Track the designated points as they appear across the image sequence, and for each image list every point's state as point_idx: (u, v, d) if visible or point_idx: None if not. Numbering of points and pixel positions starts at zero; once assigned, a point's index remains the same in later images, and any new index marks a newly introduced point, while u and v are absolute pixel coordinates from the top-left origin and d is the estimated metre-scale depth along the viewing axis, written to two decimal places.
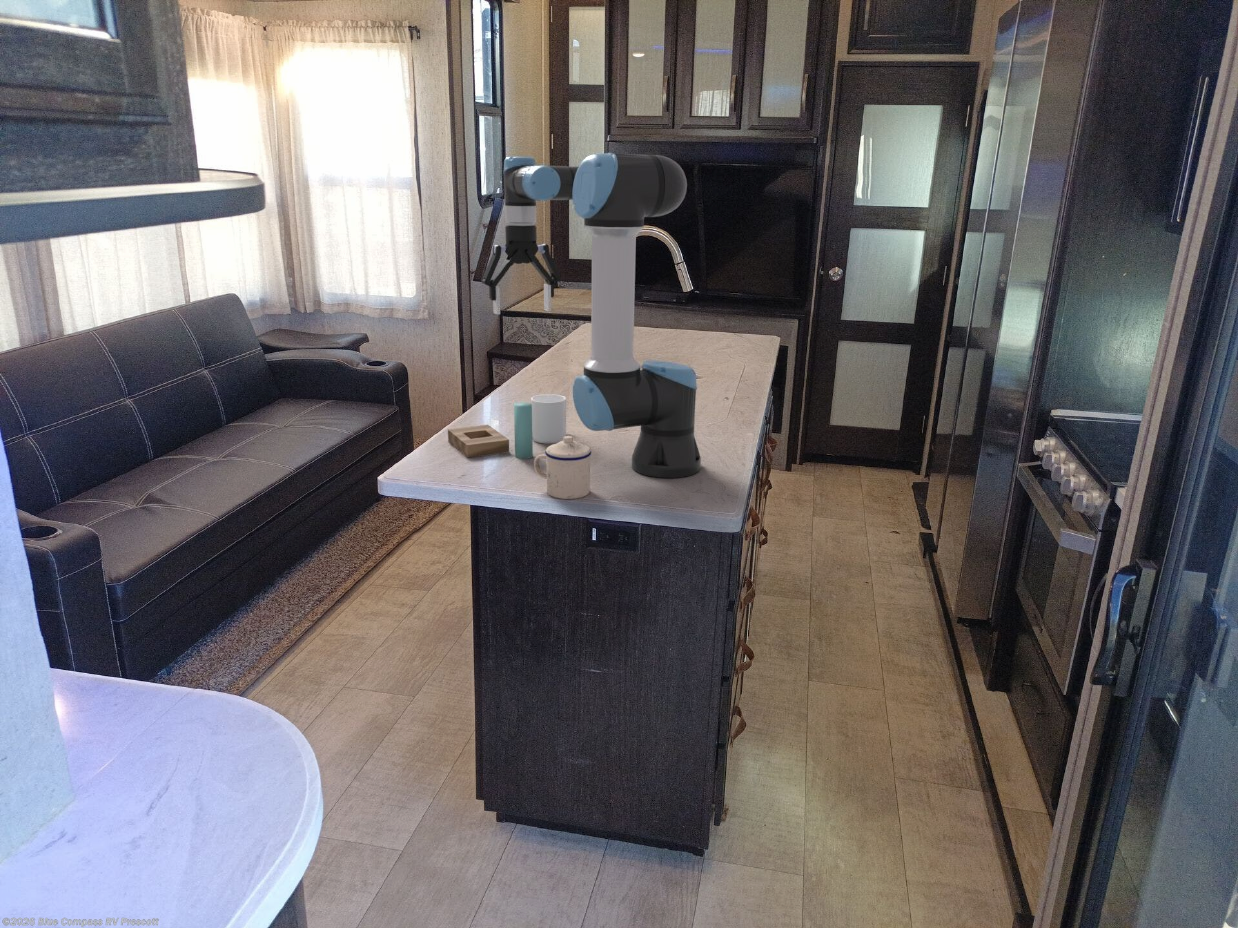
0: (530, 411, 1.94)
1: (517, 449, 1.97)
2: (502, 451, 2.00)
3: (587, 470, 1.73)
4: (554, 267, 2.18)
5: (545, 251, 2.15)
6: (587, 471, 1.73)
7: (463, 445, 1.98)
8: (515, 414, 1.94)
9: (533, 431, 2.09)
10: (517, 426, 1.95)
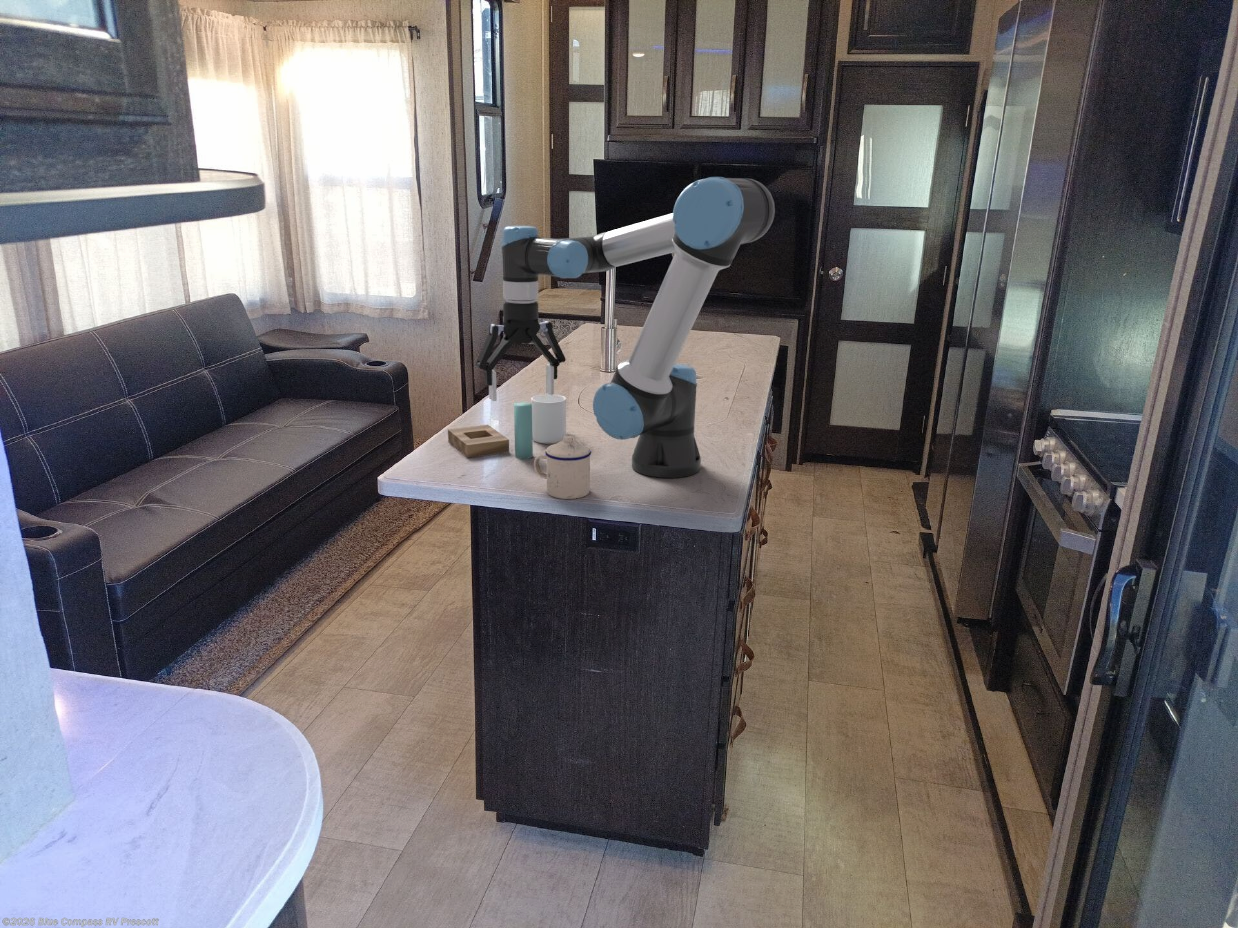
0: (530, 411, 1.94)
1: (517, 449, 1.97)
2: (502, 451, 2.00)
3: (587, 470, 1.73)
4: (558, 346, 1.94)
5: (548, 329, 1.91)
6: (587, 471, 1.73)
7: (463, 445, 1.98)
8: (515, 414, 1.94)
9: (533, 431, 2.09)
10: (517, 426, 1.95)
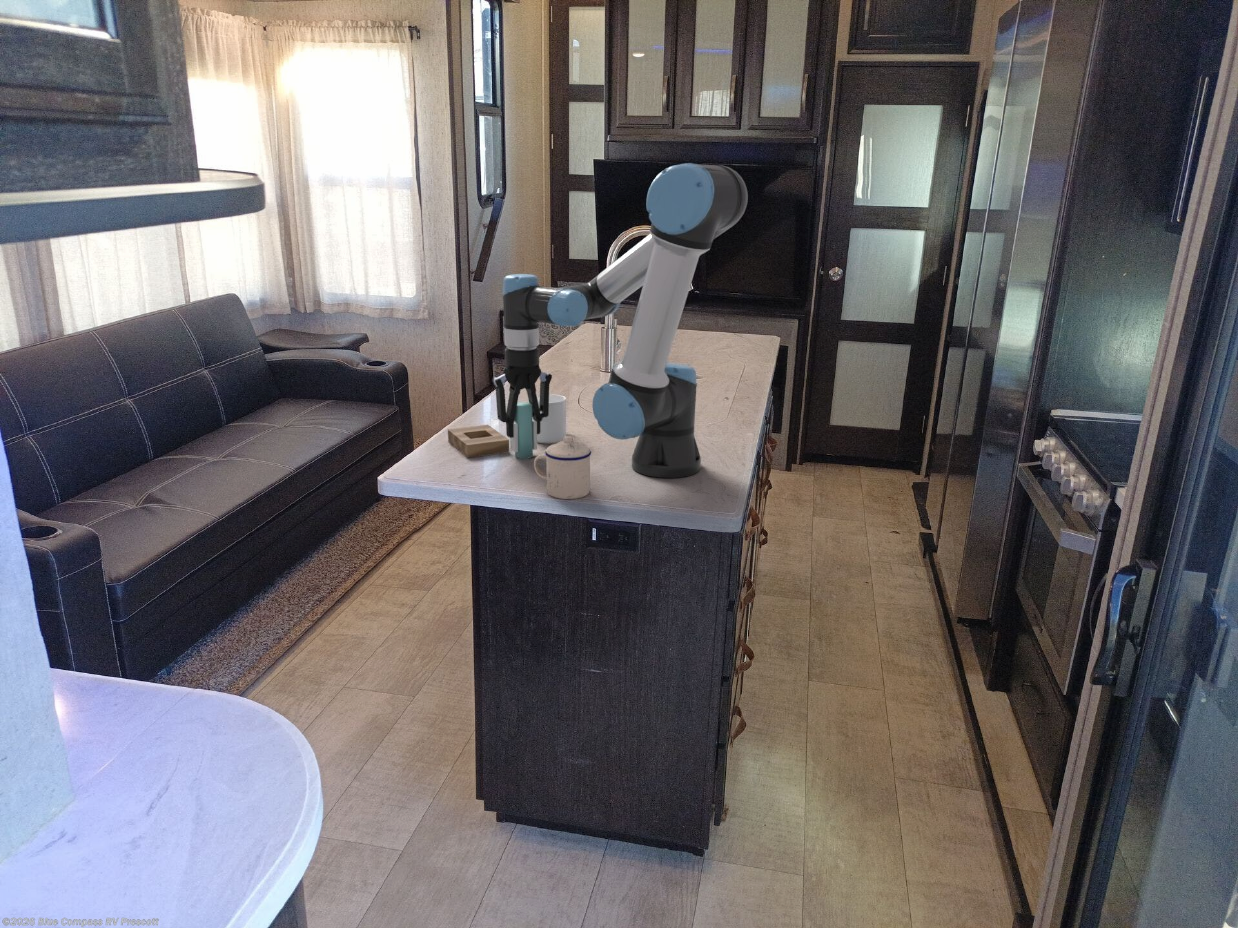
0: (530, 411, 1.94)
1: None
2: (502, 451, 2.00)
3: (587, 470, 1.73)
4: (547, 400, 1.96)
5: (546, 380, 1.94)
6: (587, 471, 1.73)
7: (463, 445, 1.98)
8: (515, 414, 1.94)
9: None
10: None
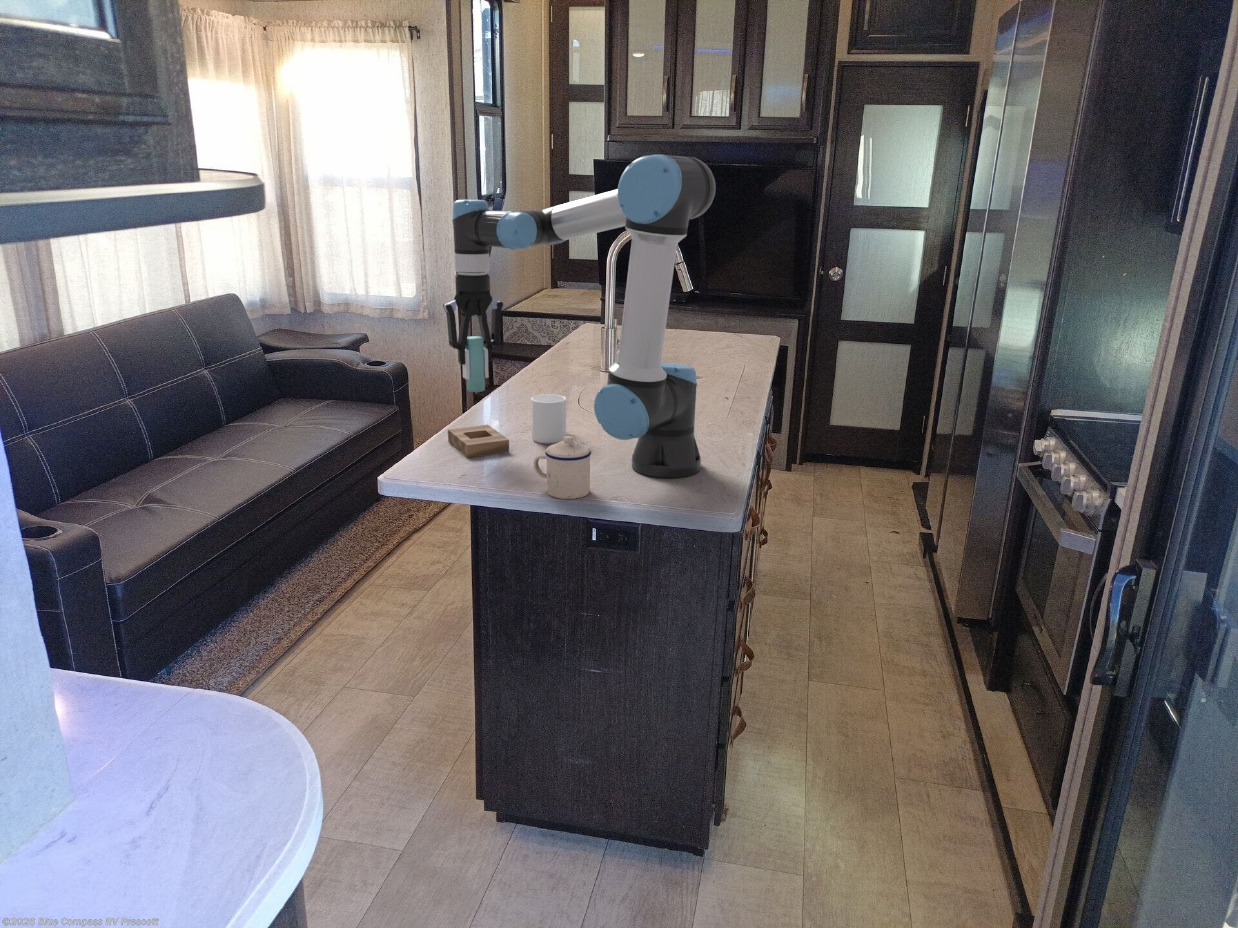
0: (481, 344, 1.96)
1: (468, 383, 1.98)
2: (502, 451, 2.00)
3: (587, 470, 1.73)
4: (498, 328, 1.97)
5: (497, 308, 1.96)
6: (587, 471, 1.73)
7: (463, 445, 1.98)
8: (466, 347, 1.96)
9: (533, 431, 2.09)
10: (469, 359, 1.96)
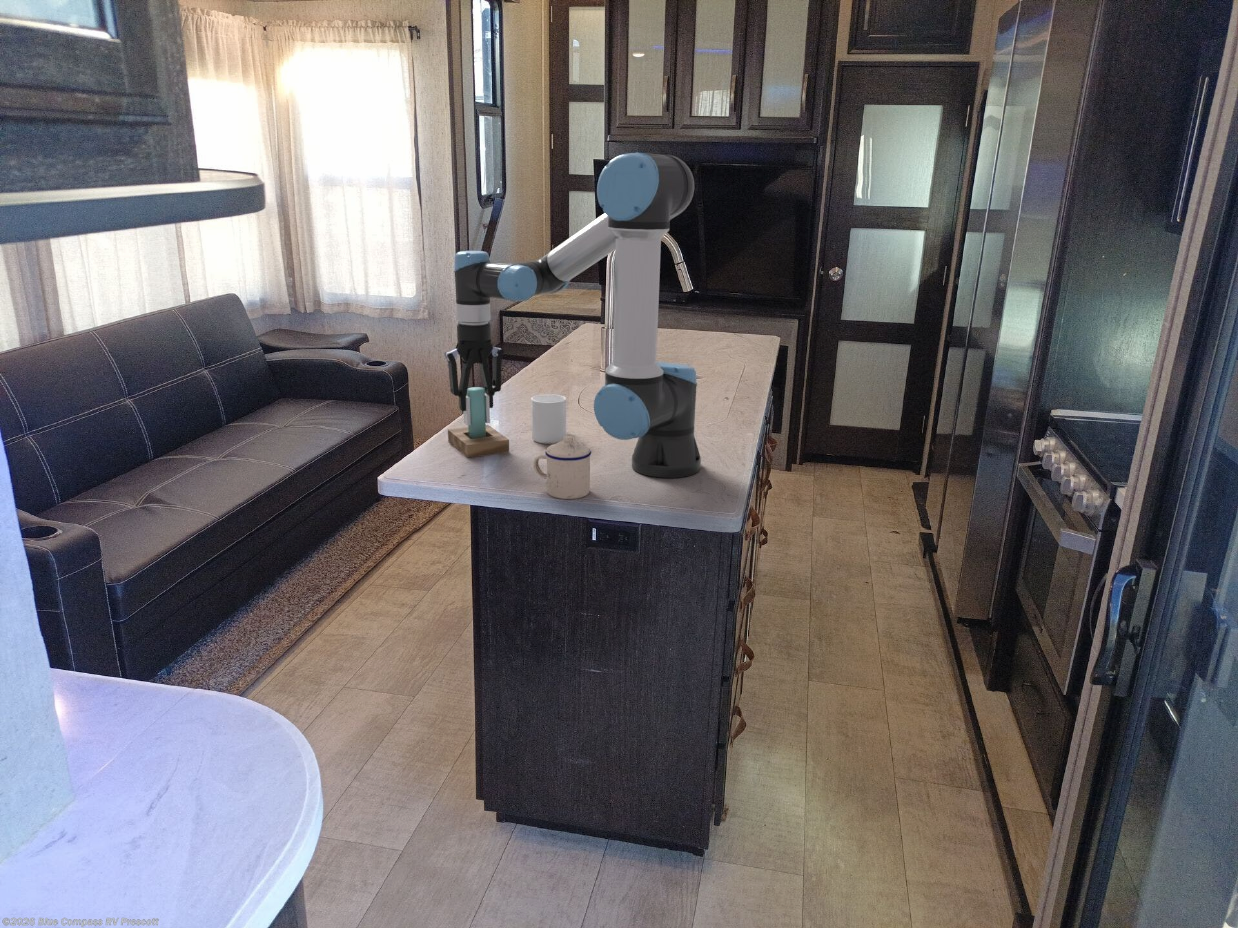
0: (482, 395, 2.00)
1: (470, 433, 2.02)
2: (502, 451, 2.00)
3: (587, 470, 1.73)
4: (499, 375, 2.01)
5: (498, 355, 1.99)
6: (587, 471, 1.73)
7: (463, 445, 1.98)
8: None
9: (533, 431, 2.09)
10: (470, 410, 2.00)
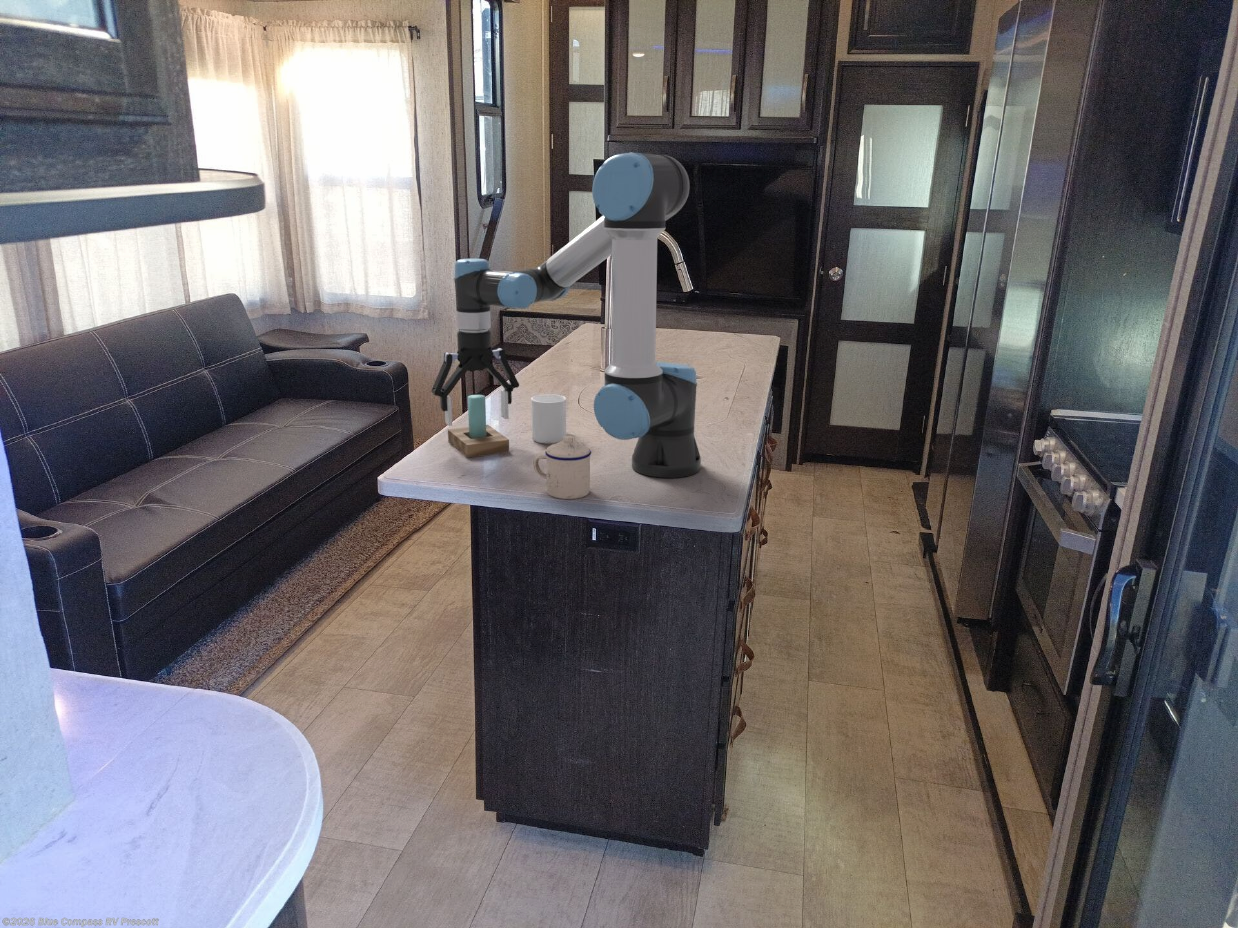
0: (483, 403, 2.00)
1: None
2: (502, 451, 2.00)
3: (587, 470, 1.73)
4: (511, 373, 2.02)
5: (501, 357, 2.00)
6: (587, 471, 1.73)
7: (463, 445, 1.98)
8: (469, 406, 2.00)
9: (533, 431, 2.09)
10: (471, 417, 2.01)
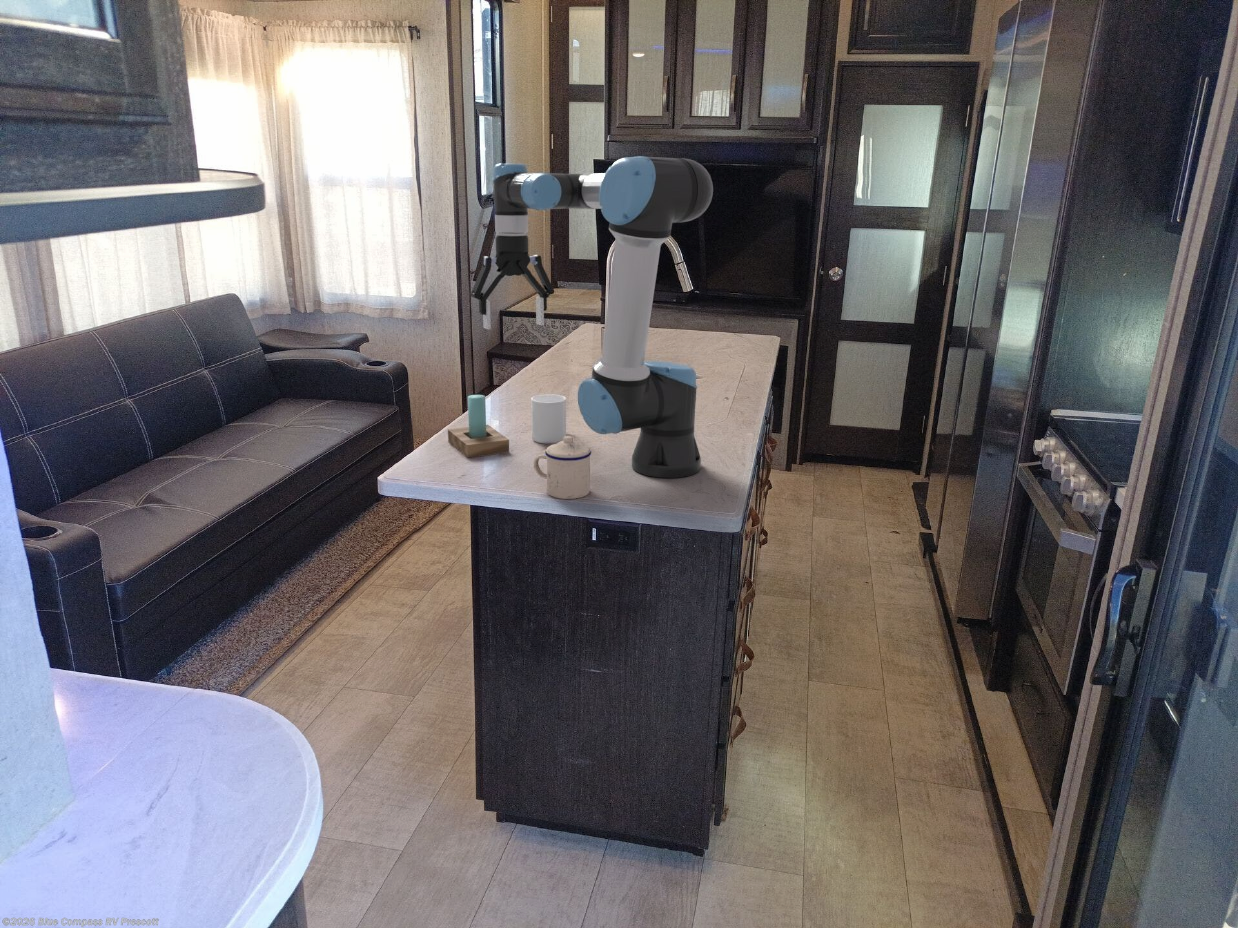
0: (483, 403, 2.00)
1: None
2: (502, 451, 2.00)
3: (587, 470, 1.73)
4: (547, 279, 2.07)
5: (537, 262, 2.05)
6: (587, 471, 1.73)
7: (463, 445, 1.98)
8: (469, 406, 2.00)
9: (533, 431, 2.09)
10: (471, 417, 2.01)
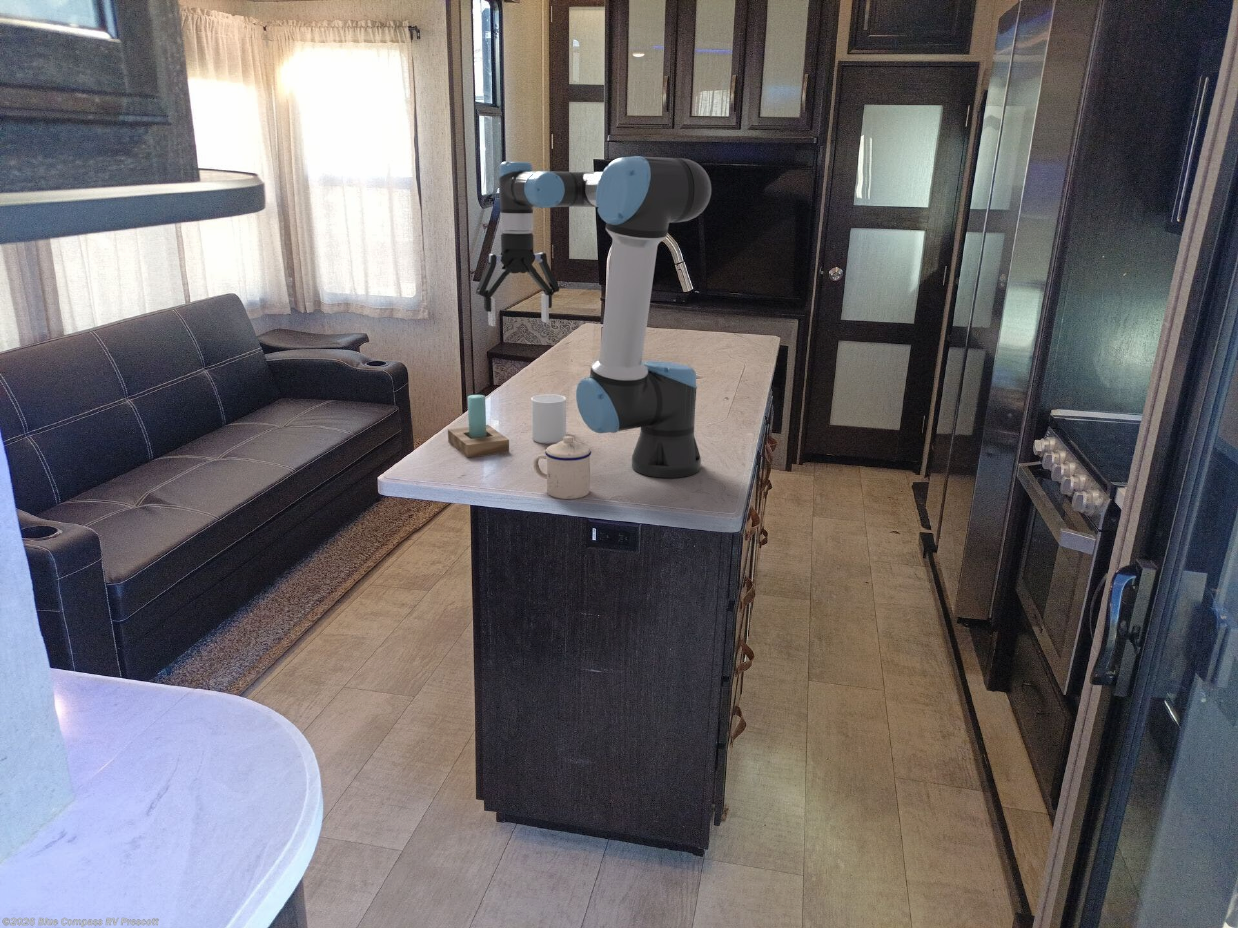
0: (483, 403, 2.00)
1: None
2: (502, 451, 2.00)
3: (587, 470, 1.73)
4: (552, 277, 2.08)
5: (542, 260, 2.06)
6: (587, 471, 1.73)
7: (463, 445, 1.98)
8: (469, 406, 2.00)
9: (533, 431, 2.09)
10: (471, 417, 2.01)
